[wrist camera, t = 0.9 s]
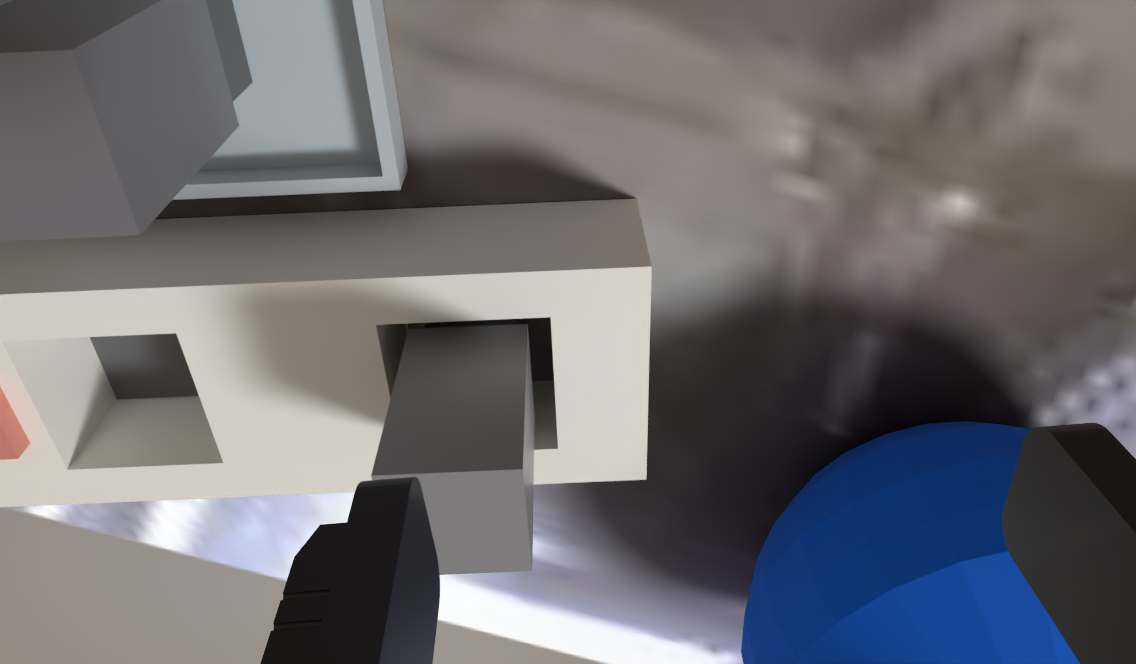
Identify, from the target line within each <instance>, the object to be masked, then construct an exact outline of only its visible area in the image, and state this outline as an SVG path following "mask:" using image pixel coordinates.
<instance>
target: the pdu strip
mask: <svg viewBox="0 0 1136 664" xmlns="http://www.w3.org/2000/svg"><path fill="white" fill-rule="evenodd" d="M651 268H652V266H651V262H650V257H649V253H648V248H647V244H646V239H645V235H644V230H643V226H642V221H641V217H640V212H639V208H638V203H637V199H616V200H593V201H570V202H546V203H523V204H500V205H477V206H453V207H430V208H407V209H384V210H360V211H337V212H314V213H291V214H268V215H244V216H221V217H198V218H175V219H154V221H153V222H152V223H151V224H150V225H149V226H148V227H147V228H146V229H145V230H144V232H143V233H142V234H141V235H134V236H111V237H88V238H64V239H41V240H18V241H0V507H17V506H40V505H63V504H87V503H110V502H134V501H157V500H180V499H204V498H227V497H251V496H274V495H298V494H321V493H344V492H355V491H356V488H357V485H358V484H359V483H360V482H361V481H370V480H372V477H371V474H372V470H373V466H374V462H375V458H376V454H377V451H378V447H379V443H380V439H381V435H382V431H383V427H384V423H385V419H386V415H387V411H388V407H389V403H390V399H391V395H392V391H393V387H394V383H395V379H396V376H397V372H398V368H399V364H400V360H401V356H402V352H403V348H404V344H405V340H406V336H407V332H408V329H421V328H424V327H425V323H430V322H453V321H476V320H500V319H521V320H522V324H528V335H529V348H530V361H531V374H532V387H533V401H534V414H535V428H534V484H555V483H579V482H602V481H625V480H646V479H647V437H648V395H649V353H650V311H651Z"/></svg>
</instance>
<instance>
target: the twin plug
mask: <svg viewBox="0 0 1136 664" xmlns="http://www.w3.org/2000/svg"><path fill="white" fill-rule="evenodd" d="M534 428H535V414H534V401H533V387H532V374H531V361H530V348H529V335H528V324H522V320H521V319H500V320H476V321H453V322H430V323H425V327H424V328H421V329H408V332H407V336H406V340H405V344H404V348H403V352H402V356H401V360H400V364H399V368H398V372H397V376H396V379H395V383H394V387H393V391H392V395H391V399H390V403H389V407H388V411H387V415H386V419H385V423H384V427H383V431H382V435H381V439H380V443H379V447H378V451H377V454H376V458H375V462H374V466H373V470H372V474H371V477H372V480H382V479H394V478H406V477H417V478H418V480H419V482H420V484H421V488H422V492H423V496H424V501H425V505H426V509H427V514H428V518H429V522H430V527H431V531H432V536H433V540H434V544H435V549H436V553H437V558H438V565H439V575H444V574H468V573H491V572H515V571H532V545H533V487H534Z"/></svg>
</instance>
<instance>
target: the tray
mask: <svg viewBox="0 0 1136 664" xmlns="http://www.w3.org/2000/svg"><path fill="white" fill-rule="evenodd" d="M10 1H12V0H0V5H2V4H5V3H7V2H10ZM232 1H233V5H234V9H235V13H236V17H237V21H238V25H239V29H240V33H241V37H242V41H243V45H244V49H245V53H246V57H247V61H248V65H249V69H250V73H251V77H252V81H253V82H252V83H251V84H250V85H249V86H248V87H247V88H246V89H245V90H244V91H243V92H242V93H241V94H240V95H239V96H238V97H237V98H236V99H235V100H234V101H233V105H234V108H235V112H236V116H237V120H238V123H239V127H238V128H237V129H236V130H235V131H234V132H233V133H232V134H231V136H230V137H229V138H228V139H227V140H226V141H225V142H224V143H223V144H222V145H221V147H220V148H219V149H218V150H217V151H216V152H215V153H214V154H213V155H212V157H211V158H210V159H209V160H208V161H207V162H206V163H205V164H204V165H203V166H202V168H201V169H200V170H199V171H198V172H197V173H196V174H195V175H194V176H193V177H192V179H191V180H190V181H189V182H188V183H187V184H186V185H185V186H184V187H183V189H182V190H181V191H180V192H179V193H178V194H177V195H176V196H175V197H174V198H173V200H180V199H204V198H227V197H250V196H273V195H297V194H320V193H343V192H366V191H389V190H401V187H402V184H403V182H404V179H405V176H406V173H407V171H408V165H407V158H406V152H405V145H404V139H403V132H402V126H401V119H400V113H399V106H398V100H397V94H396V87H395V81H394V74H393V68H392V61H391V55H390V48H389V42H388V35H387V29H386V22H385V16H384V9H383V3H382V0H232Z"/></svg>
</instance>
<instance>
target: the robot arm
mask: <svg viewBox="0 0 1136 664" xmlns="http://www.w3.org/2000/svg"><path fill="white" fill-rule="evenodd" d="M1002 527H1003V534H1004V539H1005V542H1006V546H1007V548H1008V551H1009V553H1010V555H1011V557H1012V559H1013V561H1014V562H1015V564H1016V565H1017V567H1018V569H1019V570H1020V572H1021V573H1022V575H1023V576H1024V578H1025V579H1026V581H1027V582H1028V584H1029V586H1030V587H1031V589H1032V590H1033V592H1034V593H1035V595H1036V596H1037V598H1038V599H1039V601H1040V602H1041V604H1042V606H1043V607H1044V609H1045V610H1046V612H1047V613H1048V615H1049V616H1050V618H1051V619H1052V621H1053V622H1054V624H1055V626H1056V627H1057V629H1058V630H1059V632H1060V633H1061V635H1062V636H1063V638H1064V639H1065V641H1066V642H1067V644H1068V646H1069V647H1070V649H1071V650H1072V652H1073V653H1074V655H1075V656H1076V658H1077V659H1078V661H1079V662H1080V664H1136V459H1135V458H1134V457H1133V456H1132V455H1131V454H1130V453H1129V452H1128V451H1127V450H1126V448H1125V447H1124V446H1123V445H1122V444H1121V443H1120V442H1119V441H1118V440H1117V439H1116V438H1115V437H1114V436H1113V435H1112V434H1111V433H1110V432H1109V431H1108V430H1107V429H1106V428H1105V427H1103V426H1102V425H1100V424H1097V423H1084V424H1071V425H1059V426H1047V427H1037V428H1033V429H1031V430H1030V431H1029V432H1028V433H1027V435H1026V436H1025V439H1024V441H1023V445H1022V448H1021V452H1020V455H1019V458H1018V462H1017V465H1016V469H1015V472H1014V476H1013V479H1012V482H1011V486H1010V489H1009V493H1008V496H1007V499H1006V503H1005V506H1004V510H1003V516H1002ZM439 598H440V577H439V565H438V558H437V553H436V549H435V544H434V540H433V536H432V531H431V527H430V522H429V518H428V514H427V509H426V505H425V501H424V496H423V492H422V488H421V484H420V482H419V480H418V478H417V477H406V478H394V479H382V480H370V481H361V482H360V483H359V484H358V485H357V488H356V491H355V494H354V498H353V502H352V506H351V510H350V514H349V517H348V521H347V523H337V524H325V525H320V526H319V527H318V528H317V530H316V531H315V532H314V533H313V535H312V536H311V537H310V538H309V540H308V541H307V542H306V543H305V545H304V546H303V547H302V548H301V550H300V551H299V552H298V553H297V555H296V556H295V557H294V560H293V563H292V566H291V570H290V573H289V576H288V579H287V582H286V586H285V589H284V592H283V600H281V601H280V604H279V607H278V611H277V614H276V617H275V620H274V630H273V631H271V633H270V636H269V639H268V642H267V645H266V648H265V652H264V655H263V658H262V661H261V664H432V662H433V653H434V644H435V636H436V627H437V618H438V610H439Z"/></svg>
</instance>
